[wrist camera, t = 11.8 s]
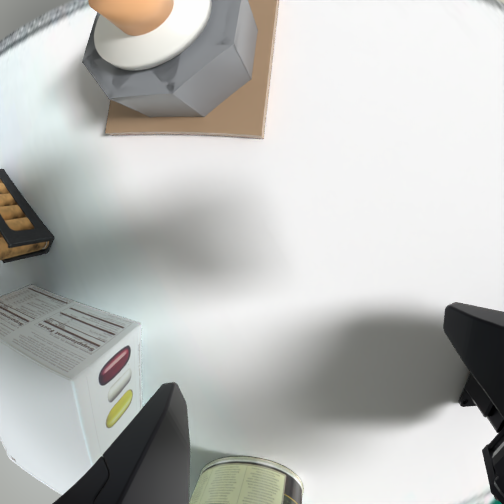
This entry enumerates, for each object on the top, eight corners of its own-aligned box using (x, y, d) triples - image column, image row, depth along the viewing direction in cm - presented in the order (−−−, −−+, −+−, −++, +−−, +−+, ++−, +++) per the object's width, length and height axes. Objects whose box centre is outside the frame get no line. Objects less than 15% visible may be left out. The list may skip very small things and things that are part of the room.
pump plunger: (239, 12, 16) (200, -74, 7) (226, 96, 17) (168, 29, 9) (151, 20, 17) (84, -42, 8) (133, 98, 18) (45, 57, 9)
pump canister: (279, -1, 16) (269, -53, 11) (263, 138, 19) (246, 114, 13) (140, 10, 18) (101, -26, 12) (112, 135, 20) (58, 121, 14)
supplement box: (150, 461, 26) (111, 523, 17) (53, 415, 27) (6, 458, 18) (146, 321, 22) (70, 383, 13) (31, 282, 24) (-44, 311, 15)
